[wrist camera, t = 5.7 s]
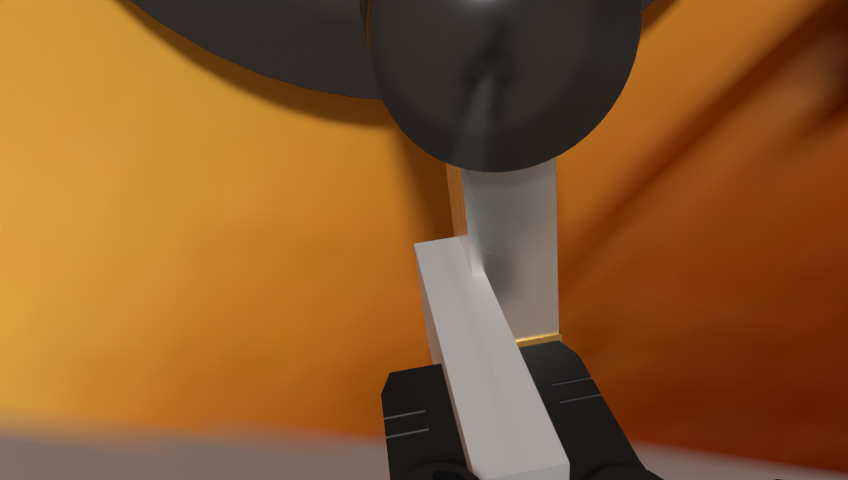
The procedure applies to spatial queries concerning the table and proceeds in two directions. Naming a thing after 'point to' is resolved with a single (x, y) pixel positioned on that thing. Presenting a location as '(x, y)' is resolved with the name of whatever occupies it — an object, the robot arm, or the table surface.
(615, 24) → the screw
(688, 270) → the table surface
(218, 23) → the tribrach base
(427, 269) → the robot arm
